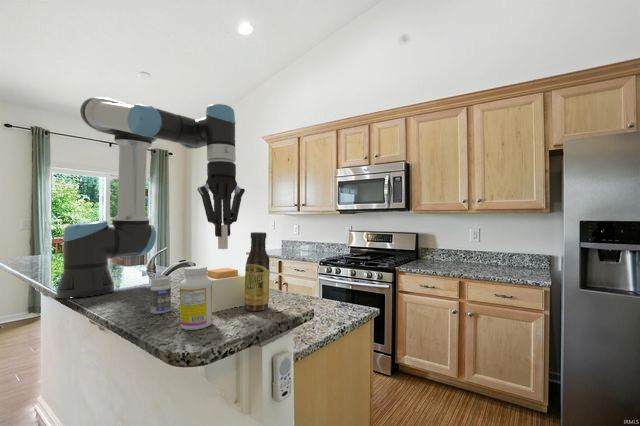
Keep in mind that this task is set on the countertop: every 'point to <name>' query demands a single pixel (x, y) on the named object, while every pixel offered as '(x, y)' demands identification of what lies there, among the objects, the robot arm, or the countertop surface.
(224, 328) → the countertop surface
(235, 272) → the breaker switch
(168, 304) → the pill bottle
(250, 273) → the sauce bottle
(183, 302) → the supplement bottle
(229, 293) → the cream open-top box
